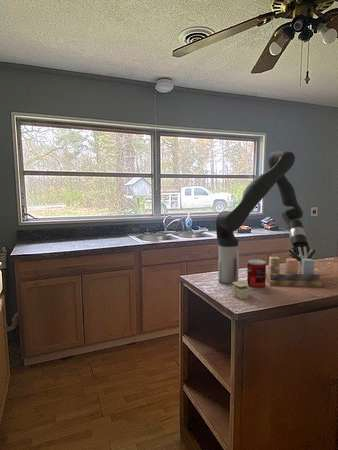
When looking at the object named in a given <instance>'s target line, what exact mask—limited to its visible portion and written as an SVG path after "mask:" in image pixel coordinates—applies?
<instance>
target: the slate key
mask: <svg viewBox="0 0 338 450" xmlns="http://www.w3.org/2000/svg"><path fill="white" fill-rule="evenodd" d="M314 269H315V260H314V259H312V258H311V259H302V267H301V271H300V272H301V274H315V273H314V272H315V271H314Z"/></svg>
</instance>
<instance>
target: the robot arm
mask: <svg viewBox="0 0 338 450" xmlns="http://www.w3.org/2000/svg"><path fill="white" fill-rule="evenodd" d="M267 159H268V161H267V162H268V167H269V170H267V171H266V172H264V173H261V174H260V175H258V176H256V177H254V179H252V180H251V182H250V183H249V184H248V185H247V186H246V187H245V188H244V190H243V194H242V198H241V200H240V202H239V203H238V204H237V206H236V207H234V209H232V210H231V211H229V210H223V211H220V212H219V213H218V214H217V217H216V219H215V220H216V221H215V230H216V232H215V233H216V239H217V243H218V260H217V261H218V265H217V267H218V283H224V284H233V282H236V281H239V239H238V238H237V237H236V236H235V234H234V232H236V231H238V230H239V229H240V228H241V227H242V226H243V225H244V223H245V221H246V220H247V218H248V217H249V215H250V214H251V213H252V211H253V210H254V209H255V208H256V207H257V205H259V203H260V202H261V201H262V199H264V197H265V196H267V194H268V193H269V191H271V189H272V188H273V186H274V185H275V184H276V185H277V187H278V191H279V193H280V198H281V202H282V205H283V206H285V207H286V208H284V209H282V211H281V217H282V219H283V220H284V222H285V224H286V225H287V228H288V232H289V240H290V245H291V248H290V249H289V250H288V252H287V254H288V255H289V256H290V257H292V258H291V259H296V260H298V261H299V262H300V266H301V268H302V259H312V258H313V257H314V255H315V254H316V250H315V249H311V247H310V245H309V243H308V242H309V241H308V238H307V235H306V232H305V229H304V225H303V222H302V221H301V220H300V219H302V218H303V215H304V212H303V209H302V208H301V206H300V203H299V202H298V200H297V197H296V192H295V191H296V190H295V189H294V186H293V185H292V183H291V181H289V179H288V178H287V177H286V174H287V172H288V171H289V172H290V170H291V168H292V167H293V166H294V163H295V160H296V155H295V154H294V153H293V152H292V151H288V150H285V151H283V150H280V151H278V150H277V151H273V152H271V153H270V154H269V156H268V158H267ZM308 254H309V255H308Z"/></svg>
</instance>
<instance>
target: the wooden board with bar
mask: <svg viewBox="0 0 338 450" xmlns="http://www.w3.org/2000/svg"><path fill="white" fill-rule="evenodd" d="M266 281H267V283H268V284H269V286H271V287H272V286H274V287H276V286H277V287H314V286H315V287H317V288H319V287H320V288H321V287H323V286H324V285H323V284H324V283H323V281H322V280H321V275H320V274H319V273H317V274H316V273H314V274H301V271H297V274H286V271H280V273H279V274H270V273H269V271H266Z"/></svg>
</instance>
